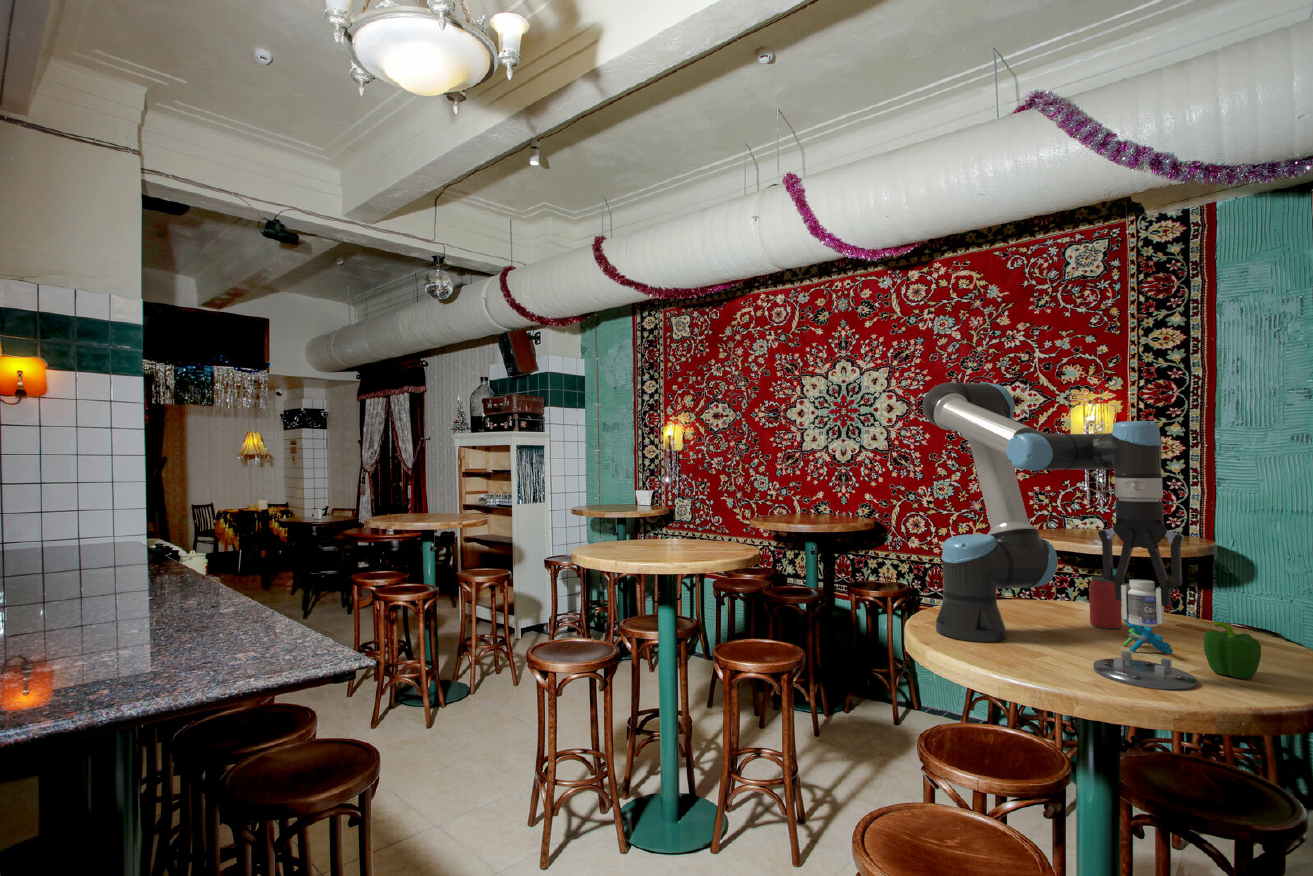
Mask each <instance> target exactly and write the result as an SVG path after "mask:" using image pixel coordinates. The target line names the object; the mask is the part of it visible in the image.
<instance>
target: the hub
mask: <svg viewBox="0 0 1313 876" xmlns="http://www.w3.org/2000/svg"><path fill="white" fill-rule="evenodd" d="M1120 654H1121V657H1117V656H1116V657H1114V658H1102V659H1099V660H1095V661H1094V662H1093V667H1092V668H1093V670H1094V672H1095V673H1097V674H1098V675H1100V676H1101V677H1104V678H1106V679H1108V680H1112V681H1115V682H1118V683H1122V684H1124V685H1129V686H1135V687H1139V688H1144V689H1145V688H1146V689H1151V690H1152V689H1153V690H1161V691H1162V690H1163V691H1187V690H1191V689H1194V688H1196V687H1197V684H1198V683H1197V677H1195V676H1194V675H1193V674H1191V673H1189V672H1186V671H1184V670H1182V669H1178V668H1177V667H1174V666H1173V665H1172V663H1173V662H1172V660H1173V659H1172V658H1167V657H1161V658H1160V659H1161V660H1160V661H1161V662H1160V663H1157V662H1151V661H1145V660H1137V659H1132V651H1130V650H1129V651H1128V650H1121V653H1120Z"/></svg>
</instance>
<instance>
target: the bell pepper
mask: <svg viewBox="0 0 1313 876" xmlns="http://www.w3.org/2000/svg"><path fill="white" fill-rule="evenodd" d="M1213 625H1214V627H1215V628H1218V627H1220V628H1221V627H1222V628H1223V629H1225V630H1223V631H1216V630H1206V632H1205V633H1204V635H1203V648H1204V649H1203V650H1204V654H1205V657H1206V660H1207V663H1208V665H1209V667H1210V669H1211V670H1212V672H1214V673H1215V674H1219V675H1223V676H1228V677H1229V676H1231V677H1232V678H1233V677H1234V678H1236V679H1245V680H1248V679H1252V678H1253V677H1254V676H1255V675H1256V673H1257V671H1258V669H1259V666H1260V661H1261V657H1262V646H1261V644H1260V642H1259V640H1258V639H1256V638H1254V637H1253V635H1250V634H1249V633H1245V632H1244V633H1238V634H1237V633H1235V632H1234V630H1233V628H1232V627H1231V626H1230V625H1229V624H1227V623H1225V622H1221V621H1214V622H1213Z"/></svg>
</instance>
